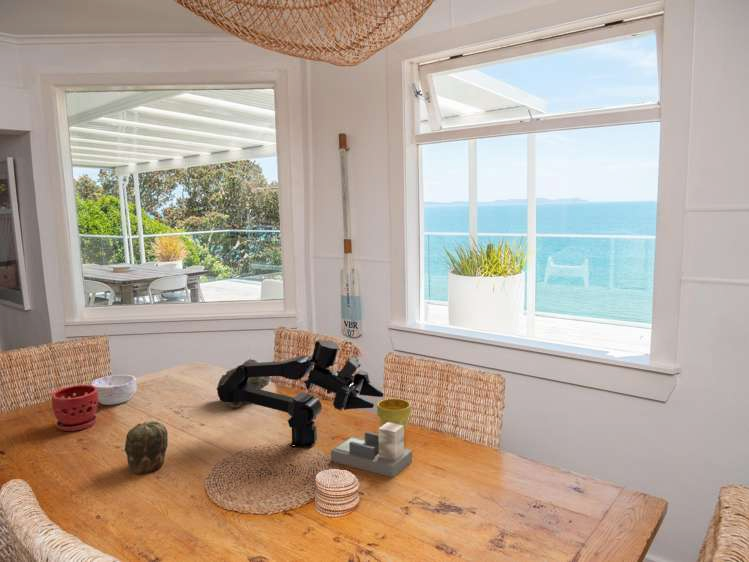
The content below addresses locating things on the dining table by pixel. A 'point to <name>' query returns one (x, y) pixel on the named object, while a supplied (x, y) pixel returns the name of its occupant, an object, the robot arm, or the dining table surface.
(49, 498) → the dining table surface
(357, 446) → the tunnel deck
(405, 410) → the plant pot
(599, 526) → the dining table surface
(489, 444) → the dining table surface
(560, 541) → the dining table surface
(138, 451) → the olive lumpy chunk
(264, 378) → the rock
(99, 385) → the white bowl
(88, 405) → the plant pot
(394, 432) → the cream block
